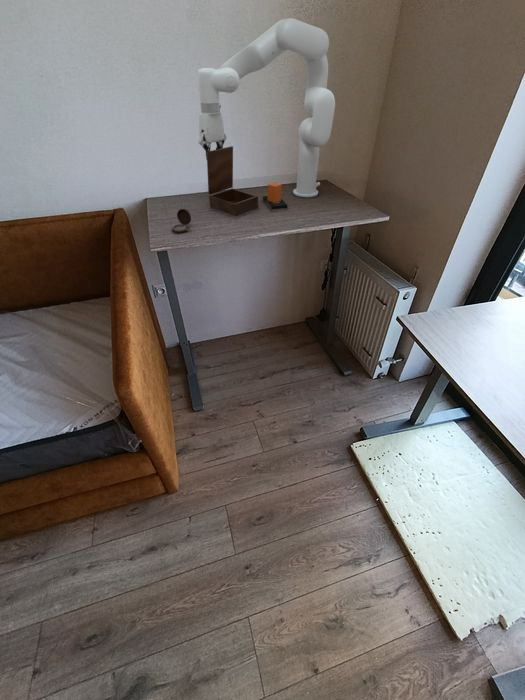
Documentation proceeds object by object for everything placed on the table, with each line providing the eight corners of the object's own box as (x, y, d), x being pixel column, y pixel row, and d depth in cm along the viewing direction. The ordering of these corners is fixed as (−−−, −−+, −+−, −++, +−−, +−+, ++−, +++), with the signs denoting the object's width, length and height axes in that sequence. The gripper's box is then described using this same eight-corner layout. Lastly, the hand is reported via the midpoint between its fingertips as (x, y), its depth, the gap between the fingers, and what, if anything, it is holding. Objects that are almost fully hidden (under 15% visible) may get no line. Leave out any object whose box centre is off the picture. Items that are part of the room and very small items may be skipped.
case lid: (233, 146, 144) (225, 143, 146) (207, 152, 136) (199, 148, 138) (232, 187, 156) (225, 184, 158) (209, 194, 148) (201, 191, 150)
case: (258, 209, 152) (257, 196, 148) (235, 218, 144) (234, 204, 141) (233, 200, 160) (232, 188, 157) (210, 208, 152) (209, 195, 149)
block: (273, 198, 157) (274, 182, 153) (281, 200, 155) (281, 184, 150) (267, 200, 155) (267, 184, 150) (274, 202, 153) (275, 186, 148)
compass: (169, 232, 133) (165, 213, 128) (180, 224, 139) (177, 206, 134) (186, 235, 131) (183, 216, 126) (197, 228, 136) (194, 209, 131)
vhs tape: (271, 211, 151) (271, 206, 149) (262, 200, 161) (262, 196, 160) (287, 209, 152) (287, 205, 151) (277, 199, 162) (277, 194, 161)
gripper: (219, 105, 140) (223, 154, 152) (187, 109, 130) (193, 161, 143) (232, 107, 136) (234, 157, 148) (199, 111, 127) (205, 165, 139)
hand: (214, 159), depth 145 cm, fingers closed on case lid, 5 cm apart
